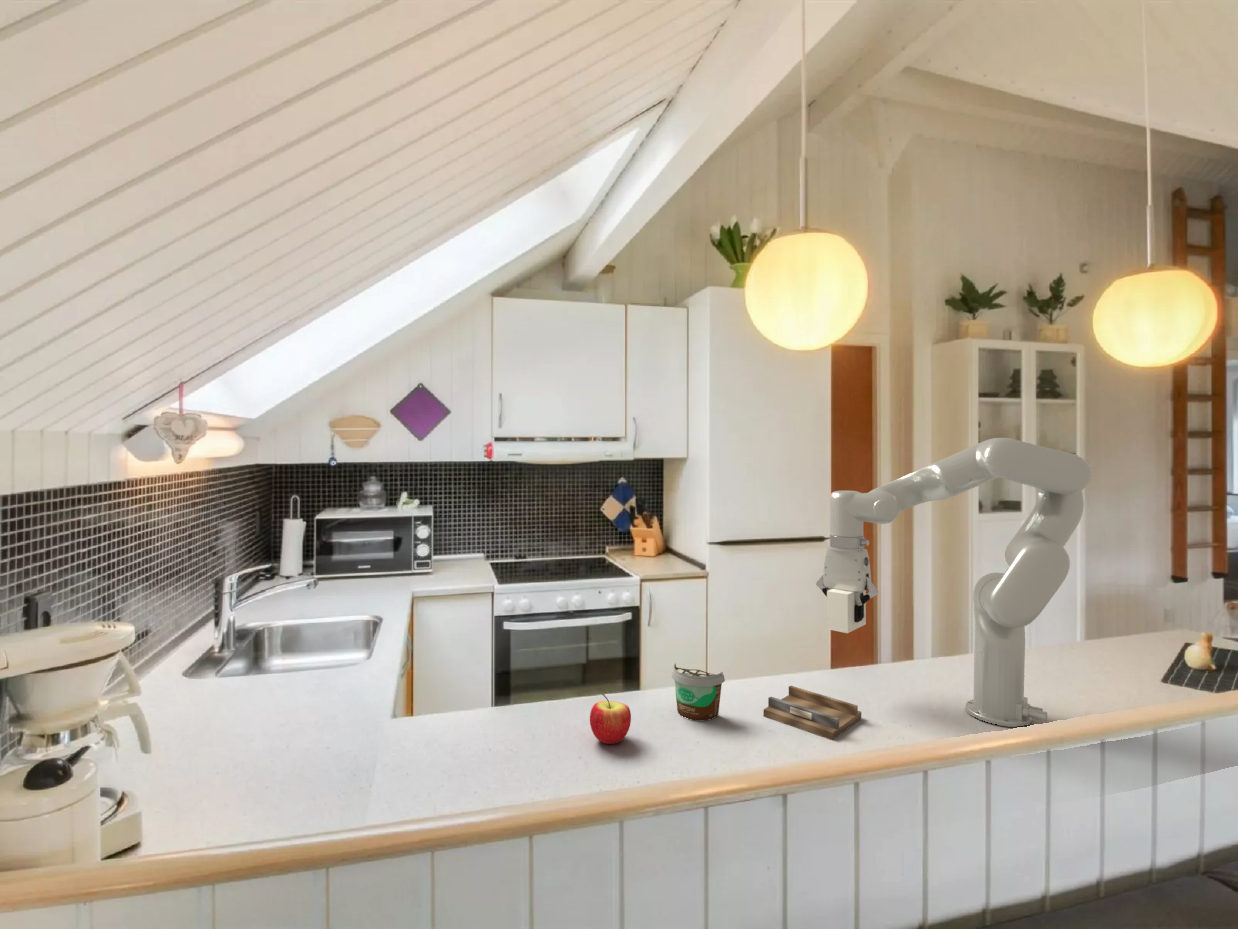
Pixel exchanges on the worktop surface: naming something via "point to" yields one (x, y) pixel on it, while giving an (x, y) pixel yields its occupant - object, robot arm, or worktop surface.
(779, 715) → the shelf
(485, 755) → the worktop surface
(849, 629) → the box
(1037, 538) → the robot arm
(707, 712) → the food container
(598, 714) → the apple
